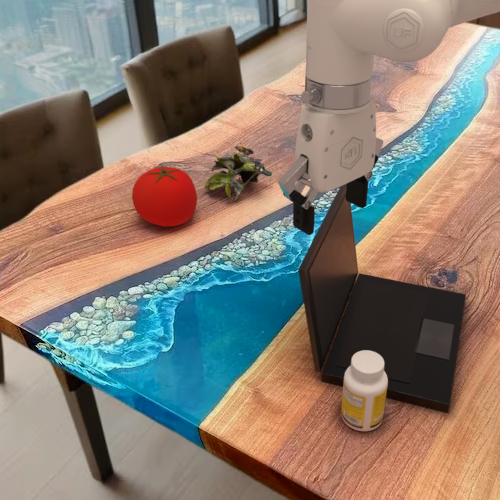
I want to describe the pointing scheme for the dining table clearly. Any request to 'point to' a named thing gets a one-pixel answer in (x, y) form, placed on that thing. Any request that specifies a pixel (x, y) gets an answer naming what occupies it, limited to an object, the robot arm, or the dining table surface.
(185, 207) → the tomato
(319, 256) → the laptop screen
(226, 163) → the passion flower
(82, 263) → the dining table surface
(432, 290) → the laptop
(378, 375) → the supplement bottle
